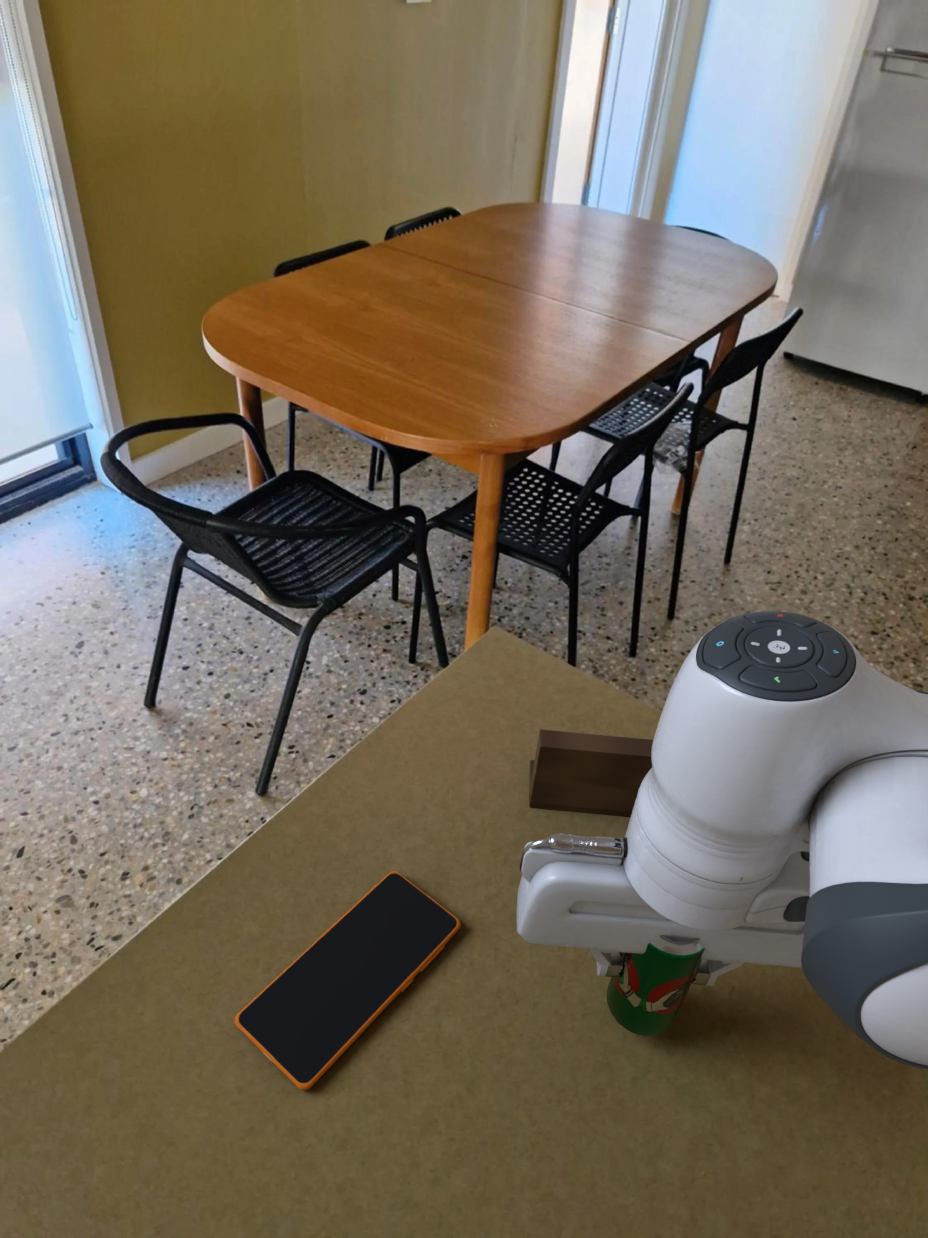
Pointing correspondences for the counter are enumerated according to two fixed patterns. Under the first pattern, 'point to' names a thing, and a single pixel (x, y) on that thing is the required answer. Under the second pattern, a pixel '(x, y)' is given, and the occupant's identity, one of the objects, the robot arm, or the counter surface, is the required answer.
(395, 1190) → the counter surface
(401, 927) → the smartphone
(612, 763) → the brown rectangular block
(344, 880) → the counter surface
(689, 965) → the soda can
